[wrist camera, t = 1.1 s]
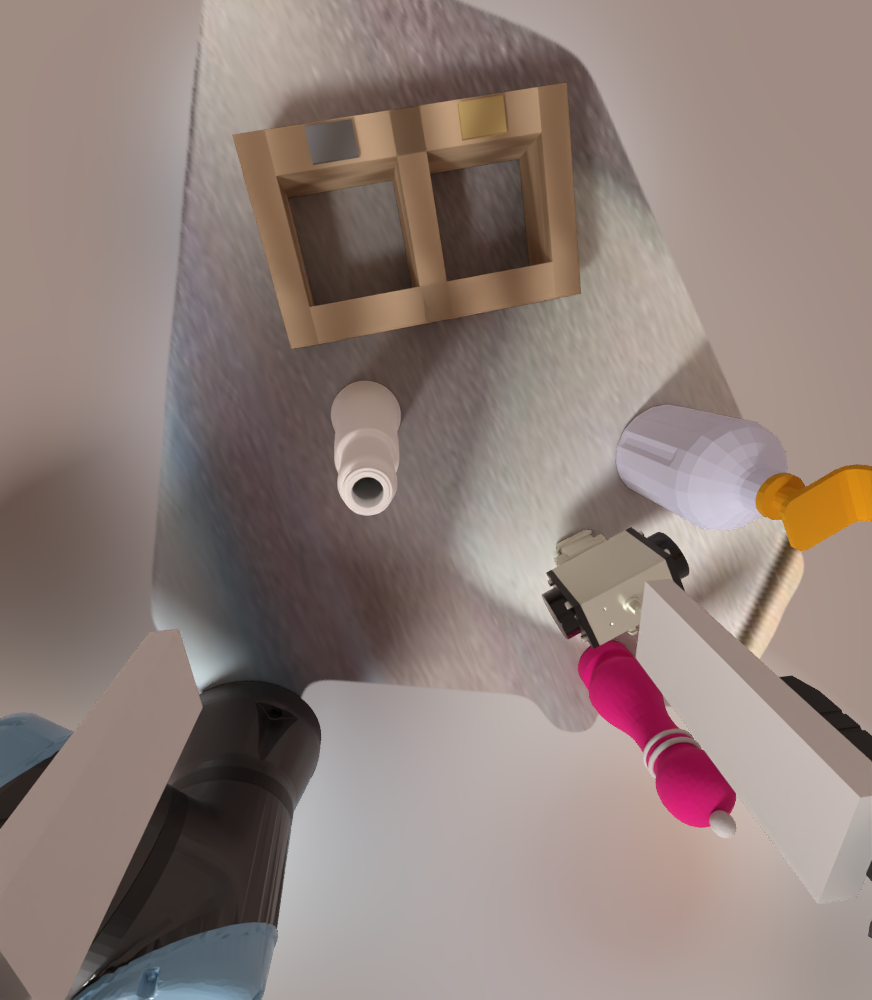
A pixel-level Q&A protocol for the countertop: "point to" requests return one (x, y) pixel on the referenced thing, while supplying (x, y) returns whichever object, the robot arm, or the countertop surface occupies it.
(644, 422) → the soap bottle
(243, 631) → the countertop surface
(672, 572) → the pneumatic valve
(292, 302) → the wooden compartment tray
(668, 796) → the pepper mill
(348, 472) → the cosmetic bottle
